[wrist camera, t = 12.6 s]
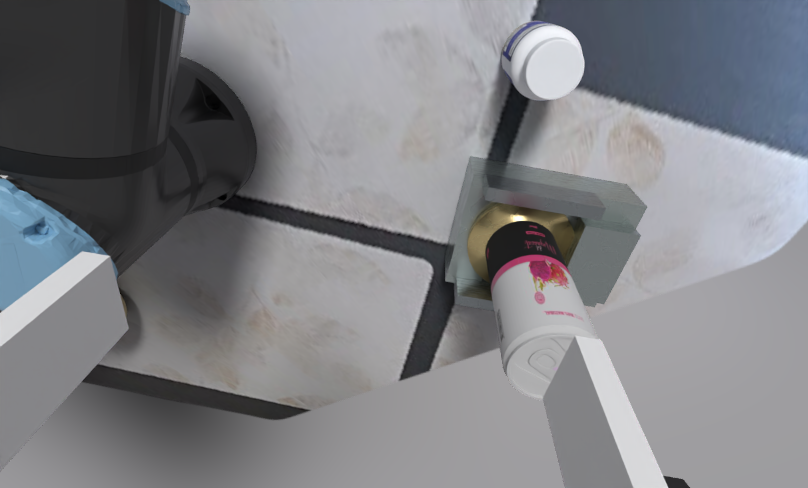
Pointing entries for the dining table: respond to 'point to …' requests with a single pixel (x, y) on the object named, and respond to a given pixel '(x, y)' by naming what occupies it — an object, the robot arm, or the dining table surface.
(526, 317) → the beverage can
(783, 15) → the dining table surface
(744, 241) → the dining table surface
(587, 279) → the brass dish housing
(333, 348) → the dining table surface
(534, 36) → the pill bottle
